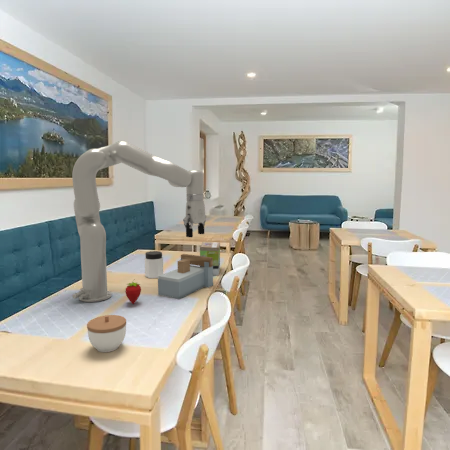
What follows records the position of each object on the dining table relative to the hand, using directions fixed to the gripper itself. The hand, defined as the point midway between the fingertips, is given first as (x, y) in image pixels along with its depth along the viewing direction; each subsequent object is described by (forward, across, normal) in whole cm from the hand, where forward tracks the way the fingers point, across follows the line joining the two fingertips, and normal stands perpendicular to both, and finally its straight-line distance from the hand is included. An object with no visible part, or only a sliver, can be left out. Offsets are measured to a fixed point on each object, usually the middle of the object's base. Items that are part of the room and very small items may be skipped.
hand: (195, 235), depth 164 cm
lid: (+16, -10, -1) cm, 19 cm away
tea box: (+23, +22, +5) cm, 32 cm away
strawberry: (+23, -34, +7) cm, 42 cm away
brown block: (+14, 0, -1) cm, 14 cm away
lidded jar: (+23, -66, -12) cm, 70 cm away
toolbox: (+23, -10, -1) cm, 25 cm away
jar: (+23, +1, +25) cm, 34 cm away
